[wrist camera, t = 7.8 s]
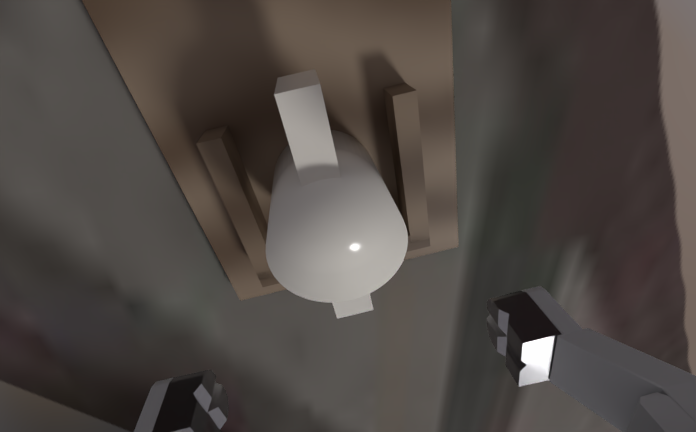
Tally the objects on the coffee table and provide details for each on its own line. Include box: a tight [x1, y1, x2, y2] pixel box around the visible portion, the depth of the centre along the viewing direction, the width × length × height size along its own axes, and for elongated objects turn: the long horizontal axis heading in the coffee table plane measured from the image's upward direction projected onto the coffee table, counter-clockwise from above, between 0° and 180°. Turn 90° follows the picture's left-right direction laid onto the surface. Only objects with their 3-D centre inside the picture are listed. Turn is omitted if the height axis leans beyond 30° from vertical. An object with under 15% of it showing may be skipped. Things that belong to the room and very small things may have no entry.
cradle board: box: [82, 0, 458, 301], centre depth 18 cm, size 22×16×3 cm
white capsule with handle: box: [266, 69, 408, 319], centre depth 17 cm, size 10×6×7 cm, turn 11°
